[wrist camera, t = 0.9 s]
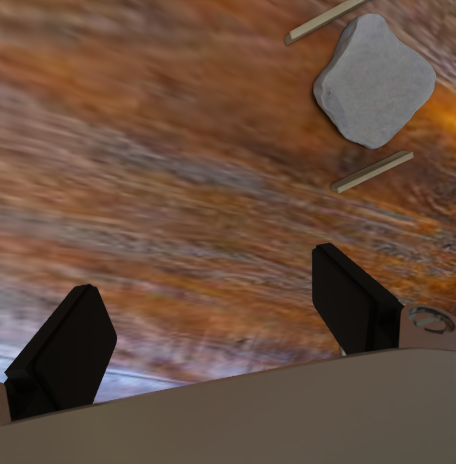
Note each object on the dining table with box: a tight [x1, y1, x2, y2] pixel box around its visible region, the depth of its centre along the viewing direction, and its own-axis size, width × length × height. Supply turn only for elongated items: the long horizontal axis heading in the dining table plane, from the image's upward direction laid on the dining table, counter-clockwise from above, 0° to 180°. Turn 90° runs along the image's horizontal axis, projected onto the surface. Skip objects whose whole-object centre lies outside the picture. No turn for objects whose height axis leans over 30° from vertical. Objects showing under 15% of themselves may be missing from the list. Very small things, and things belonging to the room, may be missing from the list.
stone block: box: [313, 13, 437, 149], centre depth 28 cm, size 12×5×10 cm
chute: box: [284, 0, 413, 193], centre depth 27 cm, size 18×26×3 cm
